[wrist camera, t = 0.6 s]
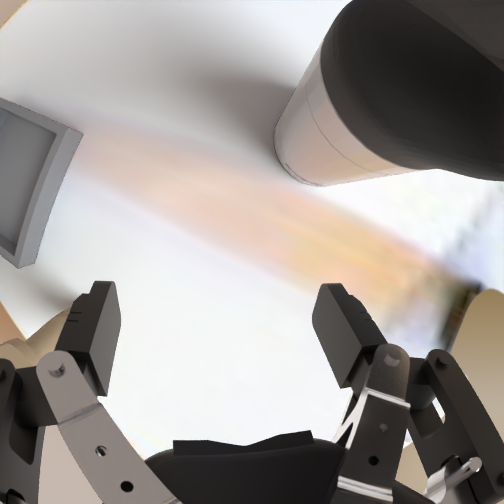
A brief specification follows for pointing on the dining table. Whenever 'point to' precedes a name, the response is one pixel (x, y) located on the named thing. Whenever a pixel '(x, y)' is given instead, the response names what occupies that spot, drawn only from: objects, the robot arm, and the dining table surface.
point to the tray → (29, 177)
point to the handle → (34, 343)
